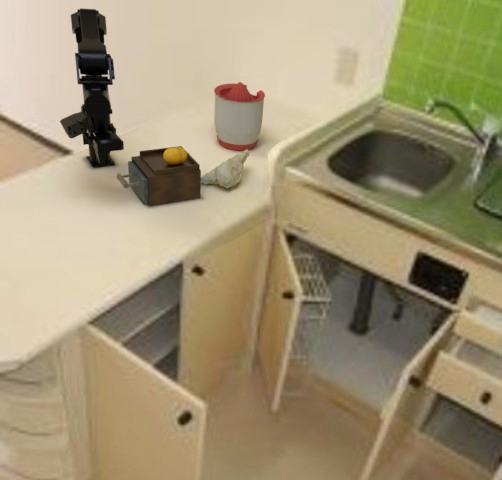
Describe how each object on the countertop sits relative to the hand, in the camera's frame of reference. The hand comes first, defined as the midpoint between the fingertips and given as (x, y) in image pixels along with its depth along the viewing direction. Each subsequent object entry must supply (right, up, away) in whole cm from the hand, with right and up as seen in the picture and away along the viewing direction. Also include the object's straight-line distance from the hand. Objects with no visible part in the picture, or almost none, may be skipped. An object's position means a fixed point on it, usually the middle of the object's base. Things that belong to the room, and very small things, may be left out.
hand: (101, 163), depth 162 cm
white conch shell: (+28, 0, +25) cm, 38 cm away
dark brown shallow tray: (+14, +2, +10) cm, 17 cm away
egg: (+16, +3, +10) cm, 19 cm away
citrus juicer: (+29, +17, +47) cm, 57 cm away
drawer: (+10, -5, +12) cm, 16 cm away
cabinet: (+13, -5, +15) cm, 20 cm away
